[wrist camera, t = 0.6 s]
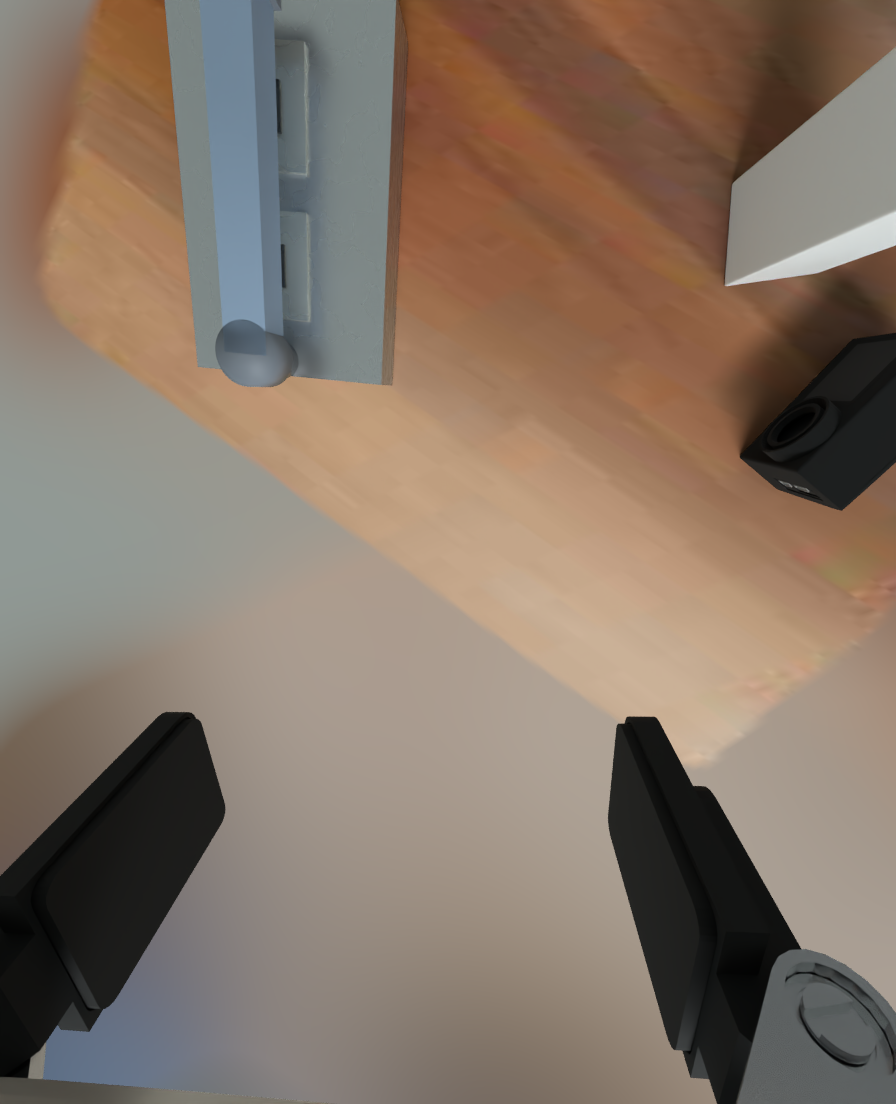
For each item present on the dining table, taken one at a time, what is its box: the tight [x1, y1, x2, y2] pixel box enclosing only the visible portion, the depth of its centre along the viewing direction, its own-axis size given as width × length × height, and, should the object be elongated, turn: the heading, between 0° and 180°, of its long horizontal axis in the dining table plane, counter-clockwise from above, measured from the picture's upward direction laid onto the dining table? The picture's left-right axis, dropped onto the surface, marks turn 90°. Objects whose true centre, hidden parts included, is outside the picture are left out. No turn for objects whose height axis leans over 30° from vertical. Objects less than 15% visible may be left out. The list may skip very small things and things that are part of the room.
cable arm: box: [199, 0, 293, 387], centre depth 25 cm, size 20×4×3 cm, turn 175°
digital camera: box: [740, 333, 896, 511], centre depth 30 cm, size 10×5×7 cm, turn 144°
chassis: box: [165, 0, 408, 385], centre depth 29 cm, size 20×13×6 cm, turn 175°
